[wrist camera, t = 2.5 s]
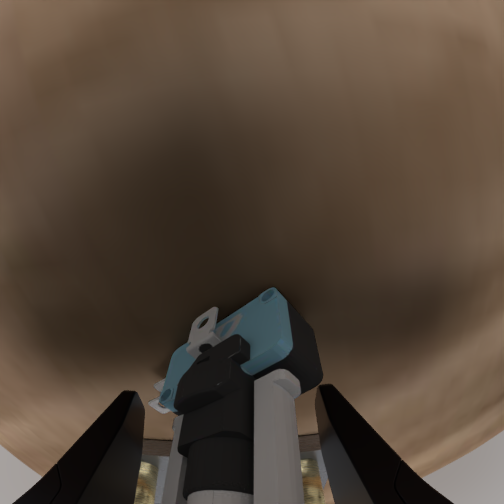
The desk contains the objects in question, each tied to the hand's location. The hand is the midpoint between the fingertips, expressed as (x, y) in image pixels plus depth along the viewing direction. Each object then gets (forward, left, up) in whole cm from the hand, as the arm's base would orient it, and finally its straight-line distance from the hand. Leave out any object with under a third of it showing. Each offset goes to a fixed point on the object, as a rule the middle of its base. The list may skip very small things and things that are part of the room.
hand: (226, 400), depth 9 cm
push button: (0, 0, -3) cm, 3 cm away
